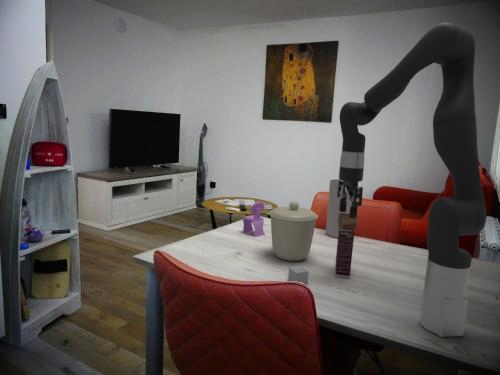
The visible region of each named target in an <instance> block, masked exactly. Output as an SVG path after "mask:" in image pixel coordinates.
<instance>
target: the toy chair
mask: <svg viewBox="0 0 500 375" xmlns="http://www.w3.org/2000/svg"><path fill="white" fill-rule="evenodd" d="M264 209H265V203H264V202H262V201H258V202H254V203H252V204H251V205H250V206H249V212H250V213H251V214H252V215H247V216H243V219H242V224H243V228H242V233H247V232H246V231H249V232H252V231H251V230H254V233H253V238H257V237H262V236H265V235H266V234H265V231H264V217H261V214H262V211H264ZM261 235H262V236H261Z"/></svg>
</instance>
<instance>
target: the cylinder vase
mask: <svg viewBox="0 0 500 375" xmlns="http://www.w3.org/2000/svg"><path fill="white" fill-rule="evenodd" d="M339 181H342V180H340V179H339V178H337V179H330V180H329V188H328V190H329V191H328V200H327V201H328V202H327V212H326V225H325V233H326V235H327V236H328V237H331V238H335V239H338V232H339V227H338V216H339V213H350V201H349V200H348V199H347V200H346V201H347V205H346V212H340V211H339V206H340V200H339V198H338V197H337V192H338V183H339ZM358 185H359V182H358ZM352 201H353V200H352Z"/></svg>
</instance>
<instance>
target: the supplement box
mask: <svg viewBox="0 0 500 375" xmlns="http://www.w3.org/2000/svg"><path fill="white" fill-rule="evenodd" d="M354 240H355V230H342V229H341V228H340V227H339V232H338V238H337V242H336V243H337V245H336V254H335V265H334V272H335V274H334V275H335V277H336V278H344V279H350V278H351V268H352V260H353V250H354Z"/></svg>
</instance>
